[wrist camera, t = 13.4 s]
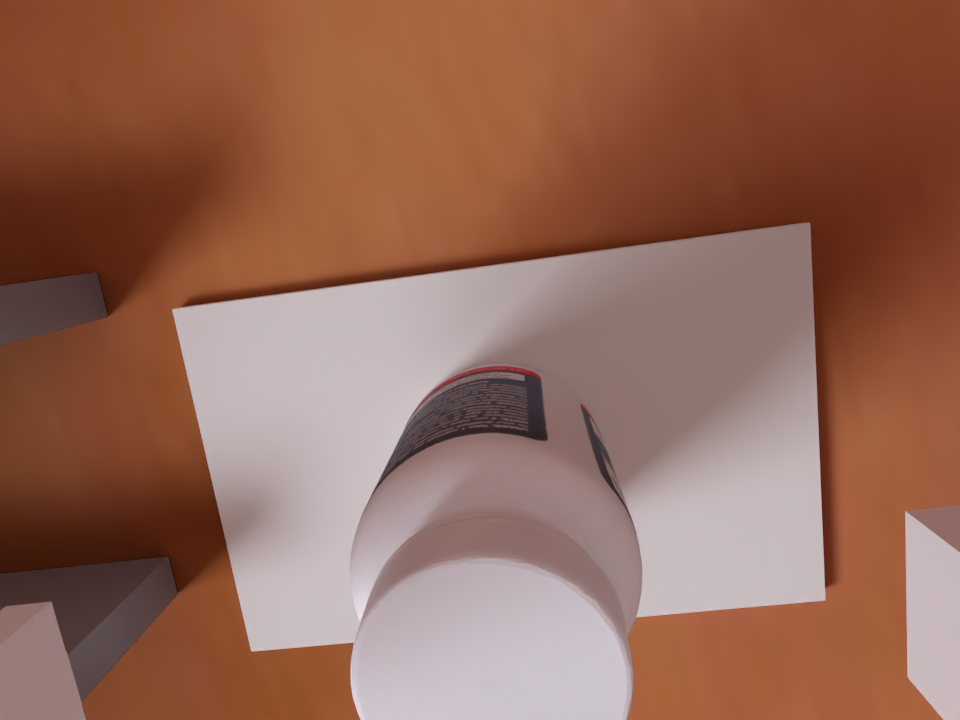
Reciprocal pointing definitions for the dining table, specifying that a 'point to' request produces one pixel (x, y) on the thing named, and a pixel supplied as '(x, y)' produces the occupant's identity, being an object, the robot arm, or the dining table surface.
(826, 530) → the dining table surface
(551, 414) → the pill bottle
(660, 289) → the mat
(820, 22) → the dining table surface
